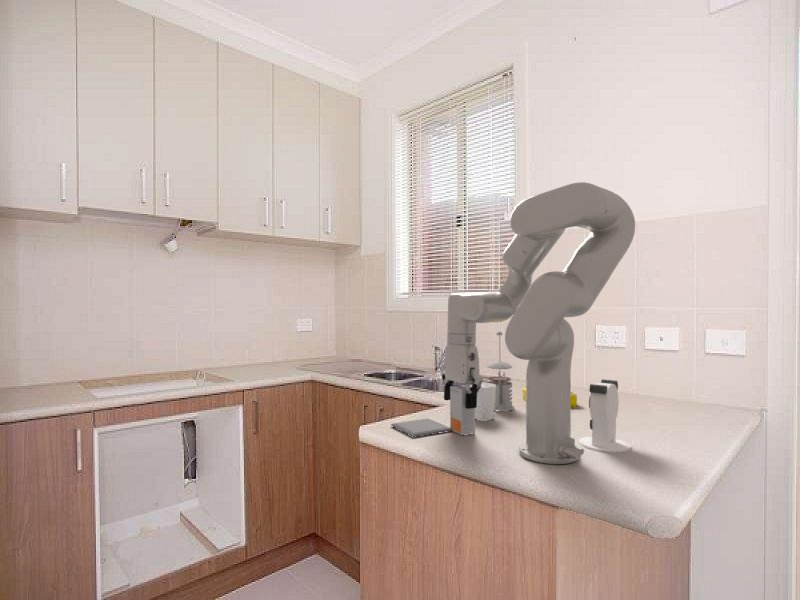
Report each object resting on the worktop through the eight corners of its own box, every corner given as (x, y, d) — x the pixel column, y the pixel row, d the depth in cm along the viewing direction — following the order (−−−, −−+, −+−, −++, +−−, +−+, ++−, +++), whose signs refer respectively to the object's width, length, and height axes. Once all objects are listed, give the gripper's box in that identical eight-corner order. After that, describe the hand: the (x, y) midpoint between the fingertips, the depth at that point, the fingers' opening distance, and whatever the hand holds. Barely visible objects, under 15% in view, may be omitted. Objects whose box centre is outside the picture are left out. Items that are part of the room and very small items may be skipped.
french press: (512, 404, 152) (512, 330, 152) (518, 413, 140) (518, 332, 140) (483, 404, 153) (483, 330, 153) (486, 412, 141) (486, 332, 141)
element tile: (579, 408, 148) (578, 394, 148) (533, 408, 148) (533, 394, 148) (563, 399, 163) (563, 385, 163) (521, 399, 163) (521, 385, 163)
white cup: (465, 419, 132) (465, 385, 132) (473, 414, 139) (473, 381, 139) (491, 423, 129) (491, 388, 129) (499, 416, 136) (498, 383, 136)
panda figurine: (588, 434, 117) (588, 376, 117) (636, 443, 110) (636, 381, 110) (572, 445, 108) (572, 383, 108) (624, 455, 101) (623, 388, 101)
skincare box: (449, 430, 121) (449, 385, 121) (463, 428, 123) (462, 384, 123) (461, 436, 116) (461, 389, 116) (475, 434, 117) (475, 388, 118)
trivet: (451, 431, 120) (451, 428, 120) (413, 437, 114) (413, 434, 114) (427, 421, 131) (427, 418, 131) (391, 426, 125) (391, 423, 125)
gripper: (493, 342, 114) (492, 410, 114) (453, 336, 129) (452, 395, 129) (470, 344, 110) (468, 413, 111) (431, 337, 126) (430, 398, 126)
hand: (459, 403), depth 120 cm, fingers open, 9 cm apart
